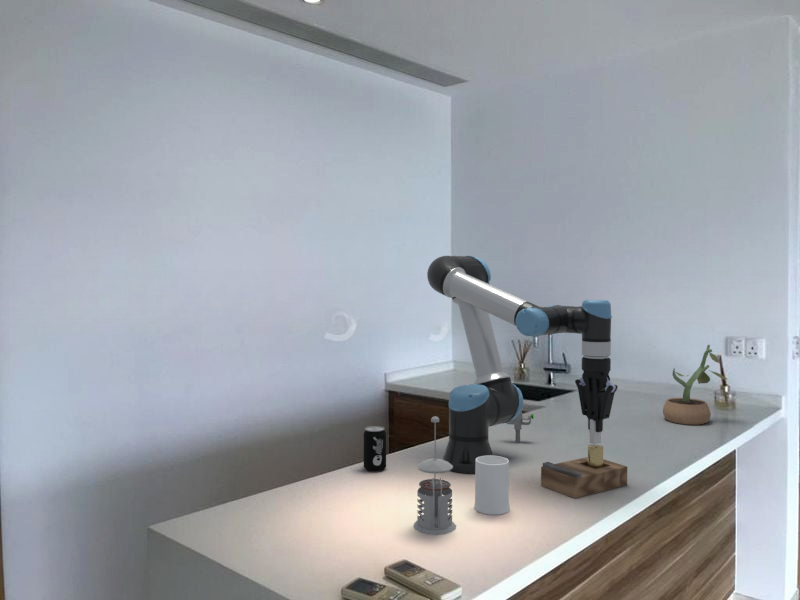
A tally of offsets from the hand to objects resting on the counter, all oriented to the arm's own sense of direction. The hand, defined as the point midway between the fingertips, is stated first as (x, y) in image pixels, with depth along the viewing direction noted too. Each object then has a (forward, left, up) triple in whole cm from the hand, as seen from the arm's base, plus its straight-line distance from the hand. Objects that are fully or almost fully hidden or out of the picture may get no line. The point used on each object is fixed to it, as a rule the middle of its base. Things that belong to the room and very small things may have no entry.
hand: (595, 442), depth 177 cm
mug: (-35, 0, -11) cm, 37 cm away
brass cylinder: (0, 0, -11) cm, 11 cm away
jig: (-4, 0, -11) cm, 12 cm away
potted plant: (+89, +30, -11) cm, 95 cm away
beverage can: (-45, +42, -11) cm, 63 cm away
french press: (-55, -3, -11) cm, 56 cm away
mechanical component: (+11, +43, -11) cm, 46 cm away
